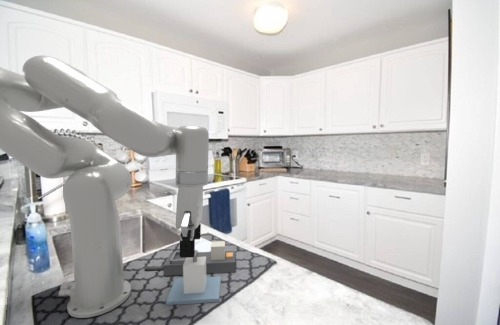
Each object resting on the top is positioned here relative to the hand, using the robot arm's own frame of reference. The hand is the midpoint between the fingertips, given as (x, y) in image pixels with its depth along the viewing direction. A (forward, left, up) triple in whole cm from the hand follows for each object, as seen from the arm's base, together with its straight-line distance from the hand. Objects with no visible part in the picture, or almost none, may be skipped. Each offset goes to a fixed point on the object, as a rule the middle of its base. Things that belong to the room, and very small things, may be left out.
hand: (191, 247), depth 56 cm
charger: (+1, 0, -11) cm, 11 cm away
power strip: (-2, +11, -11) cm, 16 cm away
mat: (+1, 0, -11) cm, 11 cm away
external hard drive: (-1, +25, -12) cm, 27 cm away
